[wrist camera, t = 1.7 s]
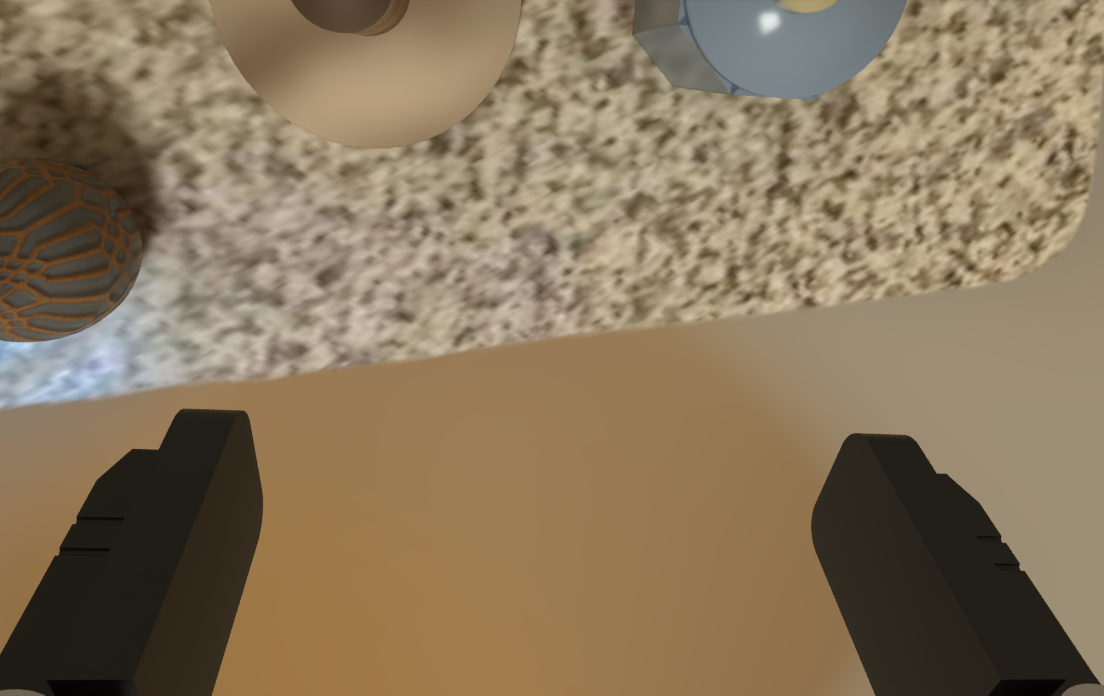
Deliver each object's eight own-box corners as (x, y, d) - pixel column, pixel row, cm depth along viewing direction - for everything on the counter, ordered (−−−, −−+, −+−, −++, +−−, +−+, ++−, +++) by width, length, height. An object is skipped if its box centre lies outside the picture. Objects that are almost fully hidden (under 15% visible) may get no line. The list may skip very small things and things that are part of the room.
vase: (131, 134, 32) (-2, 158, 24) (189, 291, 34) (87, 363, 26) (-30, 166, 32) (-218, 202, 24) (39, 320, 34) (-109, 402, 26)
